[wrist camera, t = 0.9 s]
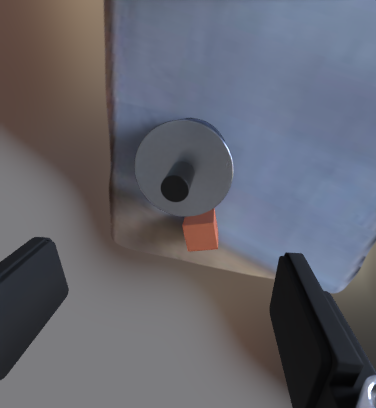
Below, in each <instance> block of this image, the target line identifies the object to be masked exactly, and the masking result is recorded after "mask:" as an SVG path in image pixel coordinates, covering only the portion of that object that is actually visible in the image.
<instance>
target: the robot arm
mask: <svg viewBox="0 0 376 408" xmlns="http://www.w3.org/2000/svg"><path fill="white" fill-rule="evenodd" d="M67 295H68V285H67V282H66V279H65V275H64V272H63V269H62V266H61V262H60V259H59V256H58V252H57V249H56V245H55V243H54V242H52V240H51V239H50V238H44V237H34V238H32V239H31V240H29V241H28V242H27V243H26V244H24V245H23V246H21V247H20V248H19V249H17V250H16V251H15V252H13V253H12V254H11V255H9V256H8V257H7V258H5V259H4V260H3V261H1V262H0V380H2V379H3V378H4V377H5V376H6V375H7V374H8V373H9V371H10V370H11V369H12V368H13V366H14V365H15V364H16V362H17V361H18V360H19V358H20V357H21V356H22V354H23V353H24V352H25V351H26V349H27V348H28V347H29V345H30V344H31V343H32V341H33V340H34V339H35V337H36V336H37V335H38V334H39V332H40V331H41V330H42V328H43V327H44V326H45V324H46V323H47V322H48V320H49V319H50V318H51V317H52V315H53V314H54V313H55V311H56V310H57V309H58V307H59V306H60V305H61V303H62V302H63V301H64V300H65V298H66V297H67ZM270 316H271V321H272V325H273V329H274V333H275V337H276V341H277V345H278V350H279V354H280V358H281V362H282V366H283V370H284V373H285V378H286V382H287V386H288V390H289V394H290V398H291V403H292V407H293V408H376V371H375V369H374V367H373V366H372V364H371V362H370V361H369V359H368V357H367V355H366V354H365V352H364V351H363V349H362V347H361V345H360V344H359V342H358V340H357V338H356V337H355V335H354V333H353V331H352V330H351V328H350V326H349V325H348V323H347V321H346V320H345V318H344V316H343V314H342V313H341V311H340V309H339V307H338V306H337V304H336V303H335V301H334V299H333V297H332V296H331V294H330V293H328V292H327V291H323V290H322V288H321V286H320V284H319V282H318V281H317V279H316V277H315V275H314V273H313V272H312V270H311V268H310V266H309V264H308V262H307V261H306V259H305V257H304V255H303V254H301V253H285V255H284V256H280V257H279V262H278V267H277V272H276V277H275V282H274V287H273V292H272V298H271V303H270Z"/></svg>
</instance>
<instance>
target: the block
mask: <svg viewBox="0 0 376 408" xmlns="http://www.w3.org/2000/svg"><path fill="white" fill-rule="evenodd" d="M182 227H183V232H184V236H185V240H186V245H187V249H188V251H200V250H213V249H218V228H217V222H216V215H215V209H214V208H213V209H212V210H210V211H208V212H206V213H203V214H200V215H196V216H189V217H185V218H184V221H183V225H182Z"/></svg>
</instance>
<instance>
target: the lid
mask: <svg viewBox="0 0 376 408" xmlns="http://www.w3.org/2000/svg"><path fill="white" fill-rule="evenodd" d="M135 176H136V180H137V183H138V185H139V187H140V189H141V191H142V193H143V194H144V196H145V197H146V198H147V199H148V200H149V201H150V202H151V203H152V204H153V205H154V206H156V207H157V208H159V209H160V210H162V211H164V212H166V213H169V214H172V215H176V216H184V217H189V216H196V215H200V214H203V213H206V212H208V211H210V210H212V209H213V208H215V207H216V206H217V205H218V204H219V203H220V202H221V201H222V200H223V199H224V198H225V196H226V195H227V193H228V191H229V189H230V186H231V183H232V179H233V162H232V158H231V154H230V152H229V149H228V147H227V146H226V144H225V142H224V141H223V140H222V138H221V137H220V136H219V135H218V134H217V133H216V132H215V131H213V130H212V129H211V128H209V127H207V126H205V125H203V124H201V123H198V122H195V121H191V120H174V121H169V122H166V123H163V124H161V125H159V126H157V127H156V128H154V129H153V130H151V131H150V132H149V133H148V134H147V135H146V136H145V138H144V139H143V140H142V142H141V143H140V145H139V147H138V150H137V153H136V157H135Z"/></svg>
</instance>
